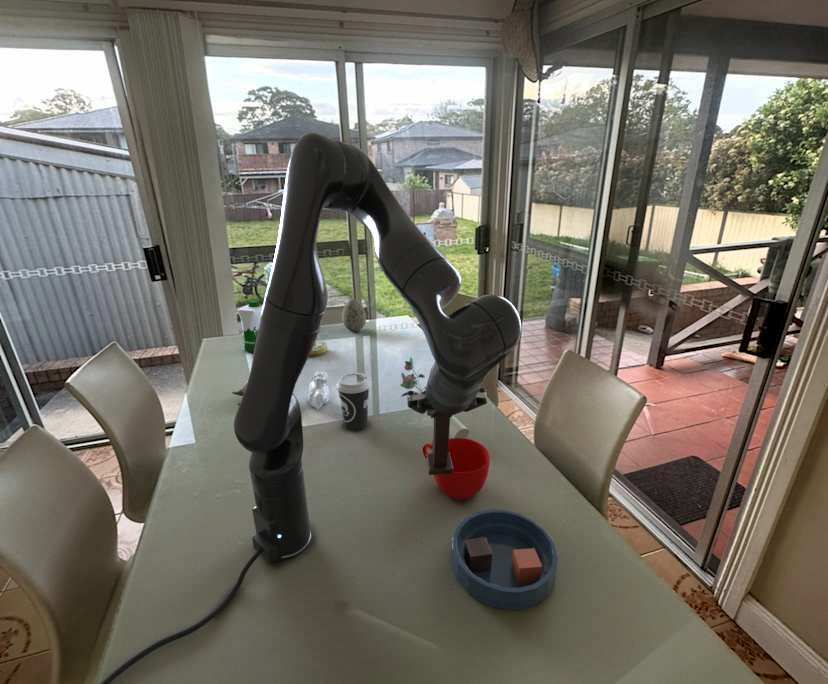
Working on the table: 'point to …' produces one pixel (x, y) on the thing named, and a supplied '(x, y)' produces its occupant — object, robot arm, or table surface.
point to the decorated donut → (318, 348)
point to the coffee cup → (354, 400)
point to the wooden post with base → (440, 447)
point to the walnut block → (478, 555)
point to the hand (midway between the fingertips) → (440, 412)
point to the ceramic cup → (463, 468)
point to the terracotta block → (526, 566)
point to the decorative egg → (354, 315)
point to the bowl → (504, 559)
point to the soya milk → (250, 323)
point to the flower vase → (408, 382)
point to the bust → (318, 390)
